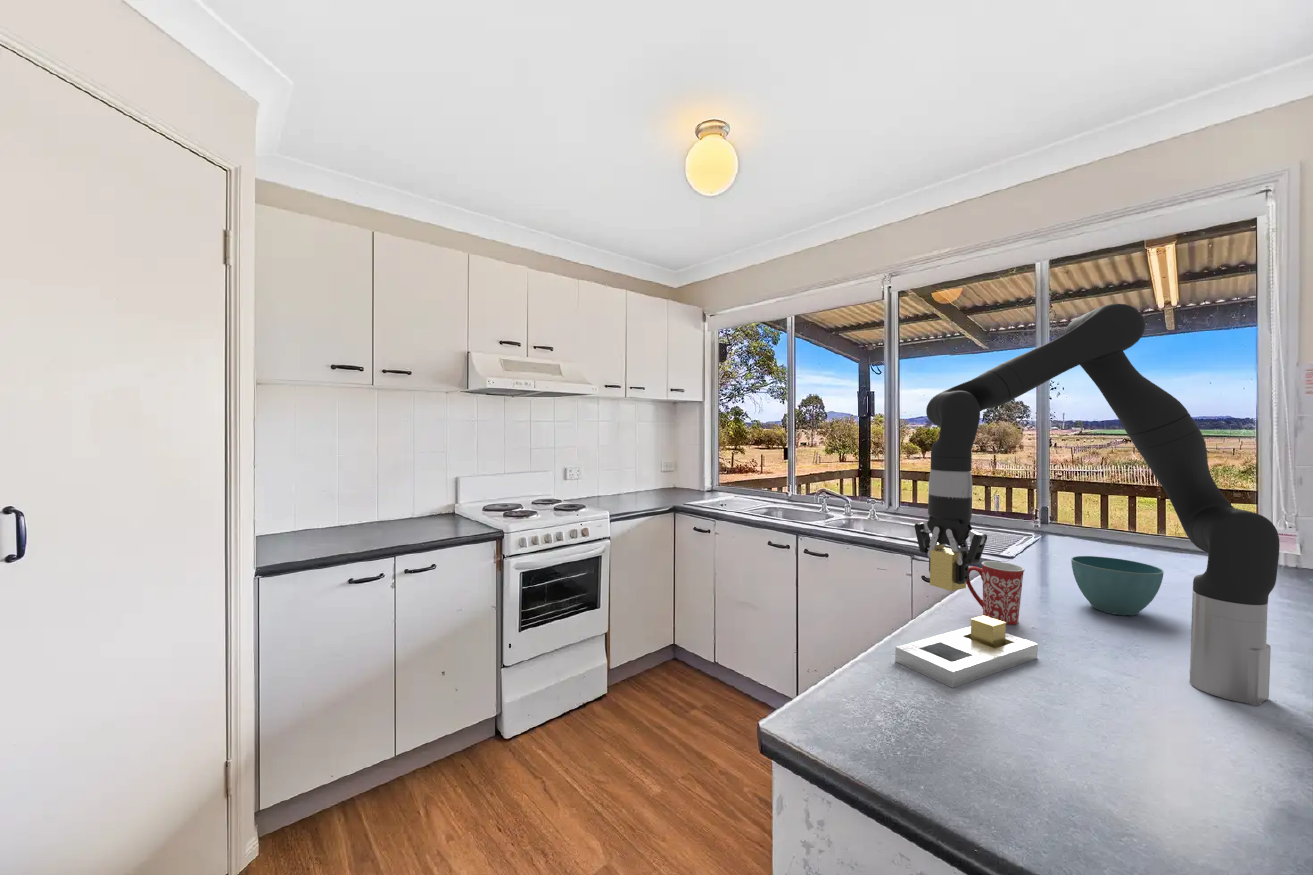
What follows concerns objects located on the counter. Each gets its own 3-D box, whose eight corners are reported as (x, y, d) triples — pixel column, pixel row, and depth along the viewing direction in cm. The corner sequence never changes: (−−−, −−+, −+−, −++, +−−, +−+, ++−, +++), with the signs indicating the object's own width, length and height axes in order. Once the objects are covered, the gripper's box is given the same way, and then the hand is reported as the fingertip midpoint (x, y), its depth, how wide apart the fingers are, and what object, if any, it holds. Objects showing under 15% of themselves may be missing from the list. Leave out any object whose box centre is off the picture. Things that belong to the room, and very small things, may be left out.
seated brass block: (1004, 655, 110) (1005, 622, 110) (992, 660, 108) (993, 625, 107) (982, 647, 114) (983, 615, 113) (970, 651, 112) (971, 618, 111)
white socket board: (978, 637, 119) (979, 624, 119) (1037, 658, 109) (1037, 643, 108) (895, 661, 106) (895, 646, 106) (952, 688, 95) (953, 671, 95)
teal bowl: (1070, 594, 151) (1072, 552, 151) (1158, 609, 140) (1159, 563, 140) (1069, 611, 137) (1070, 564, 137) (1165, 628, 126) (1167, 577, 126)
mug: (1028, 620, 130) (1029, 566, 130) (1016, 629, 124) (1017, 572, 124) (972, 606, 140) (973, 556, 139) (958, 614, 134) (959, 561, 134)
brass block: (965, 588, 103) (966, 552, 103) (951, 591, 101) (952, 554, 101) (944, 581, 107) (945, 547, 107) (929, 584, 105) (930, 549, 105)
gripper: (998, 497, 99) (996, 587, 99) (928, 488, 112) (926, 568, 112) (974, 499, 95) (972, 592, 96) (905, 490, 108) (903, 573, 108)
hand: (947, 579), depth 104 cm, fingers closed on brass block, 4 cm apart
